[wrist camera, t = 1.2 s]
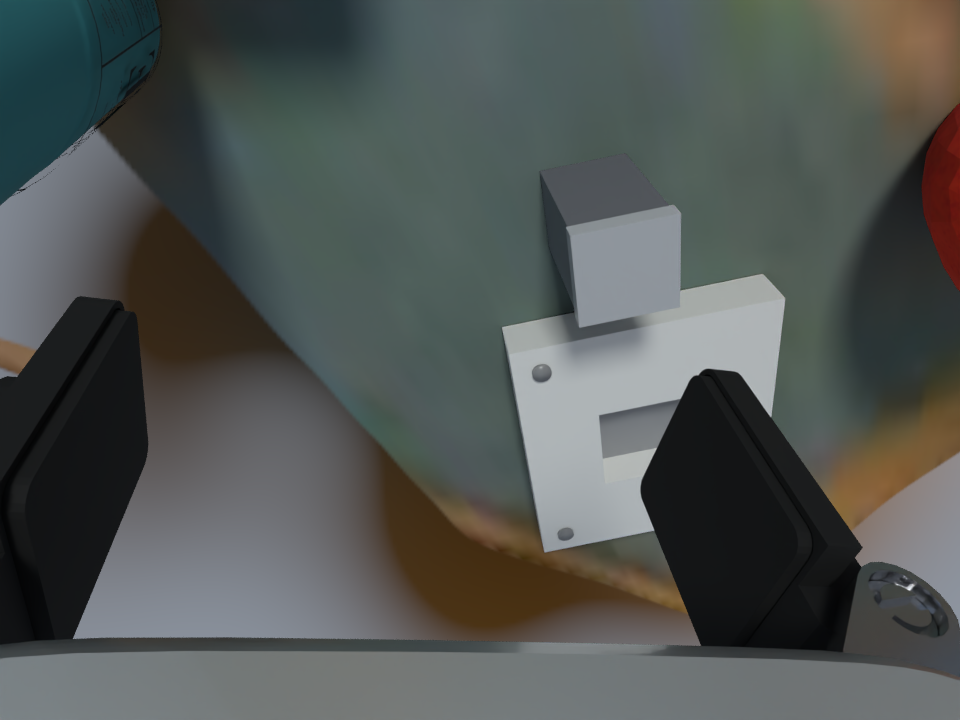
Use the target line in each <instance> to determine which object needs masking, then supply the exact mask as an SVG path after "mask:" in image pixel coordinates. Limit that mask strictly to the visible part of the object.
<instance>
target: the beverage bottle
mask: <svg viewBox="0 0 960 720" xmlns="http://www.w3.org/2000/svg"><path fill="white" fill-rule="evenodd" d="M155 1H156V0H155ZM155 1H154V0H0V205H1V204H2V203H4V202H5V201H6V200H7V199H8V198H9V197H11V196H12V195H13V194H14V193H15V192H16V191H21V190H25V189H21V190H19V189H20V188H21V187H22V186H23V185H24V184H25V183H26V182H28V181H29V180H30V179H31V178H32V177H34V176H35V175H36V174H38V173H39V172H40V171H42V170H43V169H44V168H46V167H47V166H48V165H50V164H51V163H52V162H53V161H54V160H55V159H57V158H58V157H59V156H60V155H61V154H62V153H63V152H64V151H65V150H67V148H69V147H70V146H71V145H73V143H74V142H75V141H77V140H78V139H79V138H80V137H81V136H82V135H83V134H85V132H87V131H88V130H89V129H90V128H91V127H92V126H93V125H94V124H95V123H97V122H98V121H99V120H100V119H101V120H102V117H103V116H104V115H105V114H106V113H108V112H109V111H111V109H112V108H113V107H115V105H116V104H118V103H119V102H120V101H121V100H122V99H123V100H124V99H125V98H126V97H128V96H129V95H130V94H131V93H132V92H133V91H134V90H135V89H136V88H137V87H138V86H140V85H141V84H142V83H143V82H144V81H146V79H147V77H148V75H149V73H150V70H151V68H152V66H153V64H154V62H155V64H156V61H157V58H158V57H157V55H158V50H159V49H158V48H159V42H160V27H161V29H162V24H161V25H160V26H159V17H158V13H157V9H156V4H157V2H156V4H155ZM157 7H158V5H157ZM158 11H159V9H158ZM159 16H160V13H159ZM160 20H161V17H160ZM161 48H162V45H161ZM160 54H161V51H160ZM156 57H157V58H156ZM159 58H160V57H159ZM155 59H156V61H155ZM158 61H159V60H158ZM155 64H154V67H153V70H154V68H155ZM157 64H158V63H157ZM156 67H157V66H156ZM155 69H156V68H155ZM154 71H155V70H154ZM153 73H154V72H153ZM151 74H152V72H151ZM152 75H153V74H152ZM149 78H150V77H149ZM149 78H148V79H149ZM148 81H149V80H148ZM144 83H145V82H144ZM146 84H147V83H146ZM139 90H140V89H139ZM139 90H138V91H137V92H139ZM137 92H136V93H137ZM136 93H135V94H136ZM135 94H134V95H135ZM132 97H133V96H132ZM123 100H122V102H123ZM126 100H127V99H126ZM124 101H125V100H124ZM122 102H120V103H122ZM123 103H124V102H123ZM124 104H125V103H124ZM124 104H123V105H124ZM123 105H121V106H119V107H117V109H116V108H115V109H116V110H115V111H114V112H113V113H111V114H110V115H109V114H108V115H109V116H108V115H107V116H108V117H106V119H105V120H104V119H103V120H104V121H103V120H102V121H103V122H102V123H99V125H98V126H97V127H96V126H95V127H96V128H95V127H94V128H95V129H97V128H98V127H99V128H100V127H101V125H103V123H104V122H106V121H107V120H108V119H109V118H110V117H111V116H112V115H113V114H114V113H115V112H116V111H117V110H118V109H119V108H121V107H122V106H123ZM113 110H114V109H113ZM113 110H112V111H113ZM101 120H100V122H101ZM95 129H94V131H95ZM92 131H93V130H92ZM95 132H96V131H95ZM92 134H93V133H92ZM80 141H81V140H80ZM80 141H79V142H80ZM78 144H79V143H78ZM35 183H36V182H35Z"/></svg>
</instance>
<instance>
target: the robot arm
mask: <svg viewBox="0 0 960 720" xmlns="http://www.w3.org/2000/svg"><path fill="white" fill-rule="evenodd" d="M147 452H148V435H147V424H146V413H145V402H144V390H143V379H142V369H141V358H140V347H139V335H138V324H137V317H136V314H135V313H134V312H130V311H124V307H123V304H122V303H121V302H120V301H117V300H107V299H99V298H90V297H82V296H80V297H77V298H76V299H75V300H74V301H73V302H72V304H71V305H70V306H69V308H68V309H67V310H66V312H65V313H64V314H63V316H62V317H61V318H60V320H59V321H58V322H57V324H56V325H55V327H54V328H53V329H52V331H51V332H50V333H49V335H48V336H47V337H46V339H45V340H44V342H43V343H42V344H41V346H40V347H39V348H38V350H37V351H36V352H35V354H34V355H33V356H32V358H31V359H30V360H29V362H28V363H27V364H26V366H25V367H24V368H23V370H22V371H21V373H20V374H19V375H18V377H9V376H7V377H4V378H2V379H0V720H960V627H959V623H958V619H957V617H956V615H955V614H954V612H953V610H952V608H951V607H950V605H949V604H948V603H947V602H946V601H945V599H944V598H943V597H942V596H941V595H940V594H939V593H938V592H937V591H936V590H935V589H933V588H932V587H931V586H930V585H929V584H928V583H926V582H925V581H924V580H922V579H921V578H919V577H918V576H916V575H914V574H913V573H911V572H910V571H907V570H905V569H903V568H900V567H898V566H896V565H892V564H888V563H883V562H870V563H868V564H866V565H864V566H862V567H861V566H860V565H859V563H858V562H857V560H856V559H855V557H856V555H857V554H858V553H859V552H860V550H861V549H862V546H861V545H860V543H859V542H858V540H857V539H856V537H855V536H854V535H853V533H852V532H851V530H850V529H849V528H848V526H847V525H846V523H845V522H844V520H843V519H842V518H841V516H840V515H839V513H838V512H837V511H836V509H835V508H834V506H833V505H832V503H831V502H830V501H829V499H828V498H827V496H826V495H825V494H824V492H823V491H822V489H821V488H820V486H819V485H818V484H817V482H816V481H815V479H814V478H813V477H812V475H811V474H810V472H809V471H808V469H807V468H806V467H805V465H804V464H803V462H802V461H801V459H800V458H799V457H798V455H797V454H796V452H795V451H794V450H793V448H792V447H791V445H790V444H789V442H788V441H787V440H786V438H785V437H784V435H783V434H782V433H781V431H780V430H779V428H778V427H777V425H776V424H775V423H774V421H773V420H772V418H771V417H770V416H769V414H768V413H767V411H766V410H765V408H764V407H763V406H762V404H761V403H760V401H759V400H758V399H757V397H756V396H755V394H754V393H753V391H752V390H751V389H750V387H749V386H748V384H747V383H746V382H745V380H744V379H743V377H742V376H741V375H740V374H739V373H738V372H734V371H726V370H717V369H709V368H708V369H704V370H703V371H702V372H700V374H699V375H695V376H693V377H692V378H691V379H690V381H689V383H688V385H687V387H686V389H685V391H684V393H683V395H682V397H681V399H680V401H679V403H678V405H677V407H676V410H675V412H674V414H673V416H672V418H671V420H670V422H669V424H668V426H667V428H666V430H665V432H664V434H663V436H662V439H661V441H660V443H659V445H658V447H657V449H656V451H655V453H654V455H653V457H652V459H651V461H650V463H649V466H648V468H647V470H646V472H645V474H644V476H643V478H642V481H641V486H640V493H641V498H642V501H643V503H644V506H645V508H646V511H647V513H648V516H649V518H650V521H651V523H652V526H653V528H654V531H655V533H656V535H657V538H658V540H659V543H660V545H661V548H662V550H663V553H664V555H665V558H666V560H667V563H668V565H669V568H670V570H671V572H672V575H673V577H674V580H675V582H676V585H677V587H678V590H679V592H680V595H681V597H682V600H683V602H684V604H685V607H686V609H687V612H688V614H689V617H690V619H691V621H692V624H693V627H694V629H695V632H696V634H697V636H698V639H699V641H700V644H701V646H678V645H637V644H636V645H635V644H597V643H545V642H497V641H495V642H494V641H441V640H379V639H373V640H372V639H306V638H304V639H303V638H302V639H301V638H232V637H230V638H229V637H226V638H225V637H223V638H87V639H73V637H74V634H75V632H76V629H77V627H78V625H79V622H80V620H81V617H82V615H83V613H84V610H85V608H86V605H87V603H88V601H89V598H90V595H91V593H92V591H93V588H94V586H95V583H96V581H97V579H98V576H99V574H100V572H101V569H102V567H103V564H104V562H105V559H106V557H107V555H108V552H109V550H110V547H111V545H112V542H113V540H114V537H115V535H116V533H117V530H118V528H119V525H120V523H121V521H122V518H123V516H124V513H125V511H126V509H127V506H128V504H129V501H130V499H131V497H132V494H133V492H134V489H135V487H136V484H137V482H138V480H139V477H140V475H141V472H142V470H143V467H144V465H145V462H146V458H147Z"/></svg>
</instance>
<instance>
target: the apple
mask: <svg viewBox="0 0 960 720" xmlns="http://www.w3.org/2000/svg"><path fill="white" fill-rule="evenodd" d="M921 187H922V199H923V211H924V217H925V219H926V222H927V225H928V228H929V231H930V233H931V236H932V239H933V241H934V244H935V246H936V249H937V251H938V254H939V256H940V259H941V261H942V264H943V266H944V268H945V270H946V272H947V273H948V275H949V276H950V278H951V280H952V281H953V283H954V284H955V286H956V288H957V289H958V290H959V291H960V103H959V104H958V105H957V106H956V107H955V108H954V109H953V111H952V112H951V113H950V114H949V116H948V117H947V118H946V119H945V120H944V122H943V123H942V124H941V125H940V127H939V128H938V129H937V131H936V134H935V136H934V138H933V140H932V142H931V144H930V147H929V149H928V151H927V153H926V159H925V166H924V173H923V179H922V186H921Z"/></svg>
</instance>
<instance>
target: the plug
mask: <svg viewBox="0 0 960 720" xmlns="http://www.w3.org/2000/svg"><path fill="white" fill-rule="evenodd" d="M540 178H541V186H542V194H543V202H544V210H545V219H546V227H547V235H548V243H549V249H550V252H551V254H552V256H553V259H554V261H555V263H556V266H557V268H558V271H559V273H560V275H561V278H562V280H563V282H564V285H565V287H566V290H567V292H568V294H569V297H570V299H571V301H572V304H573V306H574V312H575V318H576V321H577V323H578V326H579V328H581V327H586V326H591V325H596V324H600V323H605V322H610V321H615V320H620V319H625V318H630V317H635V316H640V315H645V314H649V313H654V312H659V311H664V310H669V309H674V308H679V307H680V266H681V213H680V211H679V210H678V209H677V208H676V207H675V206H674V205H670V206H669V204H668V203H667V202H666V201H665V200H664V199H663V197H662V196H661V195H660V194H659V193H658V191H657V190H656V189H655V188H654V187H653V185H652V184H651V183H650V182H649V181H648V179H647V178H646V177H645V176H644V175H643V173H642V172H641V171H640V170H639V169H638V167H637V166H636V165H635V164H634V163H633V161H632V160H631V159H630V158H629V157H628V156H627V154H626V153H624V154H619V155H614V156H609V157H605V158H600V159H595V160H590V161H585V162H581V163H576V164H571V165H566V166H561V167H557V168H552V169H547V170H542V171H540Z"/></svg>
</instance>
